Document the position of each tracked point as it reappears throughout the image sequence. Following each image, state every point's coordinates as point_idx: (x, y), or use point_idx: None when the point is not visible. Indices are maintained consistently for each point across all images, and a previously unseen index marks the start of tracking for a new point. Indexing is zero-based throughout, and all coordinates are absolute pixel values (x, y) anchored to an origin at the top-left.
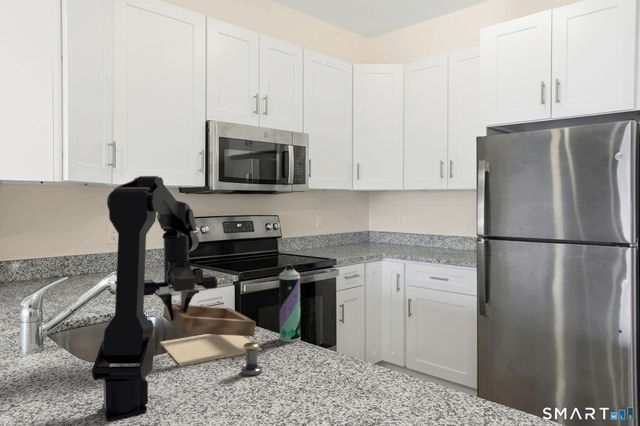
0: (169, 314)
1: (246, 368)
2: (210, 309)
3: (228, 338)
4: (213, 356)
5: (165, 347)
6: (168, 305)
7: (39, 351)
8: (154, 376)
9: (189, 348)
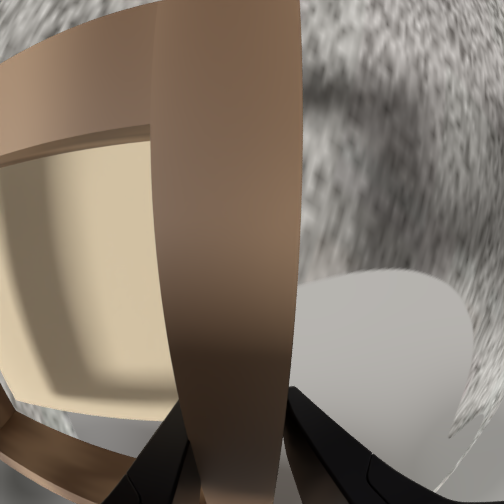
0: (329, 417)
1: None
2: (39, 468)
3: (17, 330)
4: None
5: None
6: (381, 478)
7: (474, 414)
8: (378, 55)
9: None
